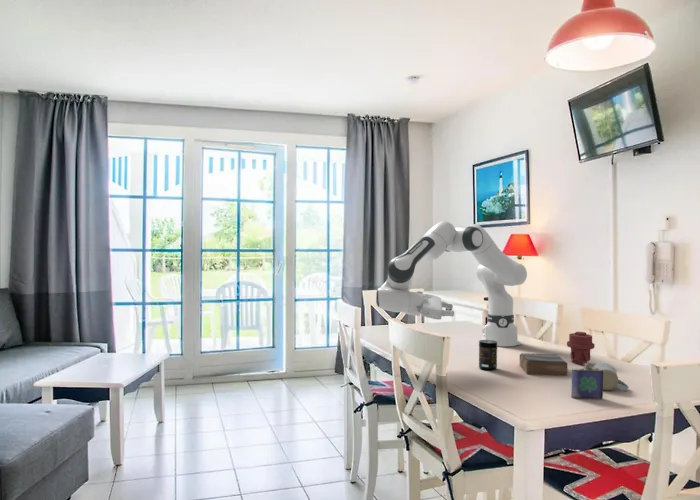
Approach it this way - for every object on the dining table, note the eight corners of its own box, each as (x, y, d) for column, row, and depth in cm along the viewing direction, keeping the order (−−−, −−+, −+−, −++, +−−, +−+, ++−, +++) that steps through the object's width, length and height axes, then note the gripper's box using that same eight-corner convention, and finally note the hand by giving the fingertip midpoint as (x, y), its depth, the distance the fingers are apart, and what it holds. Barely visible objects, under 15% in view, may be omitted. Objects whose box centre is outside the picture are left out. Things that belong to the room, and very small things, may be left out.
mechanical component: (590, 361, 204) (597, 367, 195) (564, 359, 206) (569, 365, 197) (590, 330, 204) (597, 335, 194) (564, 329, 206) (570, 334, 196)
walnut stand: (519, 365, 196) (519, 352, 196) (557, 366, 194) (557, 354, 194) (527, 374, 183) (527, 360, 183) (567, 375, 181) (567, 361, 181)
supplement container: (498, 367, 193) (498, 340, 193) (495, 371, 187) (495, 343, 187) (480, 365, 196) (481, 339, 196) (476, 369, 190) (477, 342, 190)
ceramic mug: (593, 390, 163) (594, 366, 163) (590, 383, 171) (591, 361, 171) (630, 394, 160) (631, 370, 160) (625, 387, 168) (626, 364, 167)
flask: (572, 398, 154) (573, 364, 154) (569, 395, 157) (570, 361, 157) (604, 399, 154) (604, 364, 153) (600, 397, 156) (600, 362, 156)
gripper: (418, 303, 184) (456, 310, 182) (418, 290, 204) (453, 295, 202) (415, 320, 185) (453, 326, 183) (416, 305, 205) (450, 310, 203)
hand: (453, 310), depth 193 cm, fingers open, 8 cm apart
